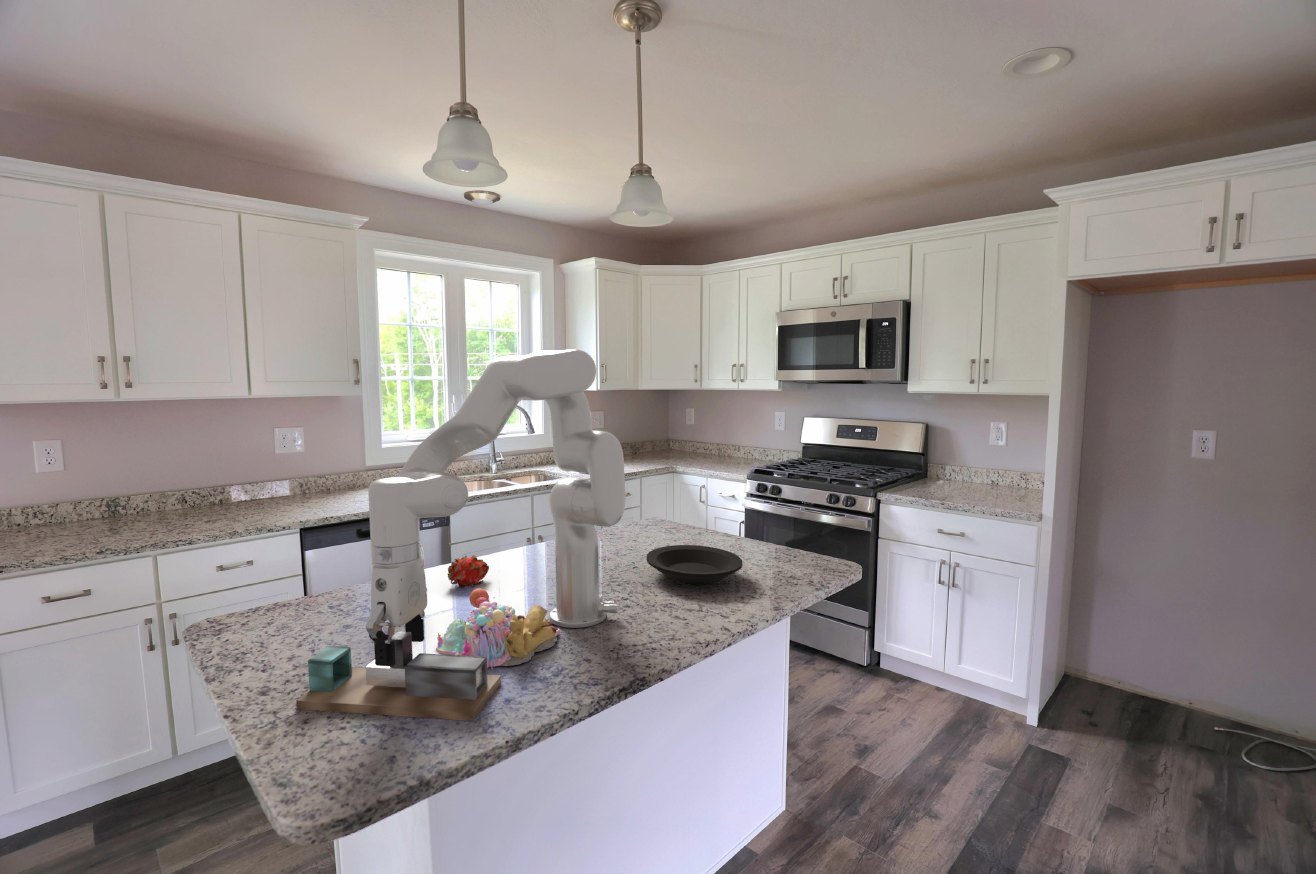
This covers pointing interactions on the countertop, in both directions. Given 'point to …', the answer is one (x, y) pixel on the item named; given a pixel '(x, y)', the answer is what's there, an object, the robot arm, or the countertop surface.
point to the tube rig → (429, 690)
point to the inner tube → (398, 665)
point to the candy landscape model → (498, 633)
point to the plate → (694, 563)
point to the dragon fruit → (467, 571)
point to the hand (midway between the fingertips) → (400, 652)
